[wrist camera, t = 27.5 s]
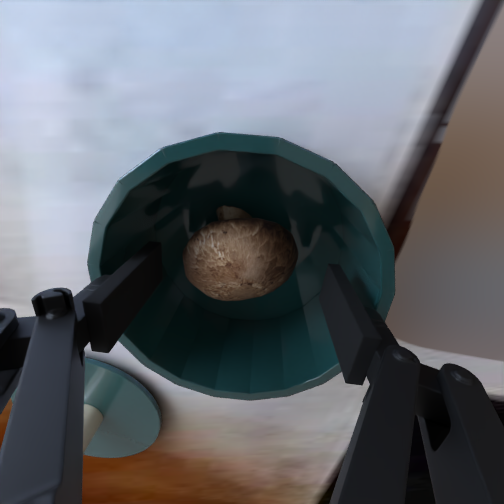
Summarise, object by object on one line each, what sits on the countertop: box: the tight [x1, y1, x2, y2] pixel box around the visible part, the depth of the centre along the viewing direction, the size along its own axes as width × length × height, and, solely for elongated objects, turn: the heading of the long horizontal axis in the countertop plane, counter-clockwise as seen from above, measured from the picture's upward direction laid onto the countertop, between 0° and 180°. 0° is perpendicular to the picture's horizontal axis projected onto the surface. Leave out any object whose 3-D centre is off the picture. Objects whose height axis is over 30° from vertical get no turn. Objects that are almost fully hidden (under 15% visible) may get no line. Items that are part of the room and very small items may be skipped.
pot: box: [87, 132, 395, 401], centre depth 18 cm, size 16×16×8 cm
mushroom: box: [183, 205, 298, 301], centre depth 18 cm, size 8×8×6 cm
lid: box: [11, 357, 162, 458], centre depth 26 cm, size 17×17×10 cm
